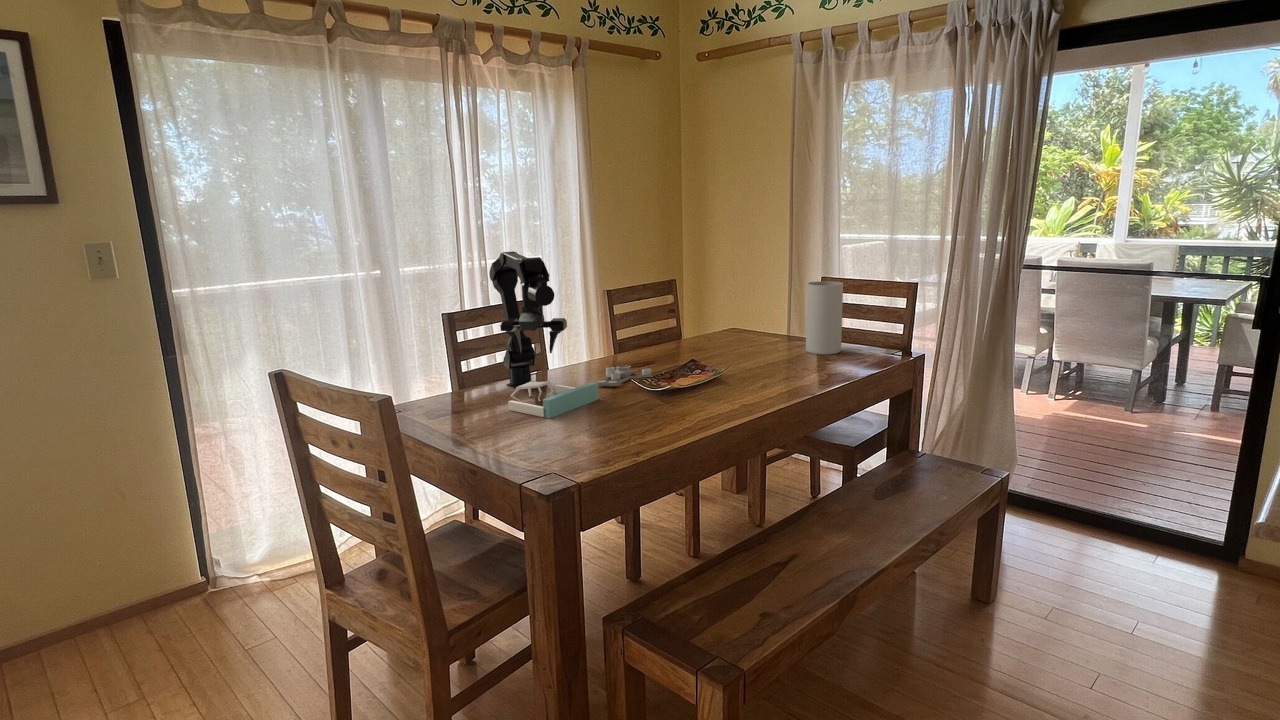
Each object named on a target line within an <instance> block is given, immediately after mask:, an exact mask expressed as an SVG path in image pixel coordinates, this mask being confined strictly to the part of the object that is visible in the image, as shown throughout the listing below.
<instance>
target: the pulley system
mask: <svg viewBox="0 0 1280 720" xmlns="http://www.w3.org/2000/svg"><path fill="white" fill-rule="evenodd" d="M631 367H632V366H631V365H626V364H625V365H624V364H623V365H617V366H615V367H613V366H609V367H605V377H607V378H610V379H608V380H607V379H606V380H597V381H596V383H597V386H599V387H600V388H604V387H616V386H618V385H621V384H622V383H624V382H626V381H628V380H631V379H630V378H632V379H642V378H641V377H653V376H651V375H655V374H659V373H660V372H658V373H652V369H651V368H642V369H641V374H639V373H634V372H633V370H632V369H631ZM664 372H665V371H663V372H662V373H664ZM631 375H632V376H631ZM636 375H638V376H636Z"/></svg>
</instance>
